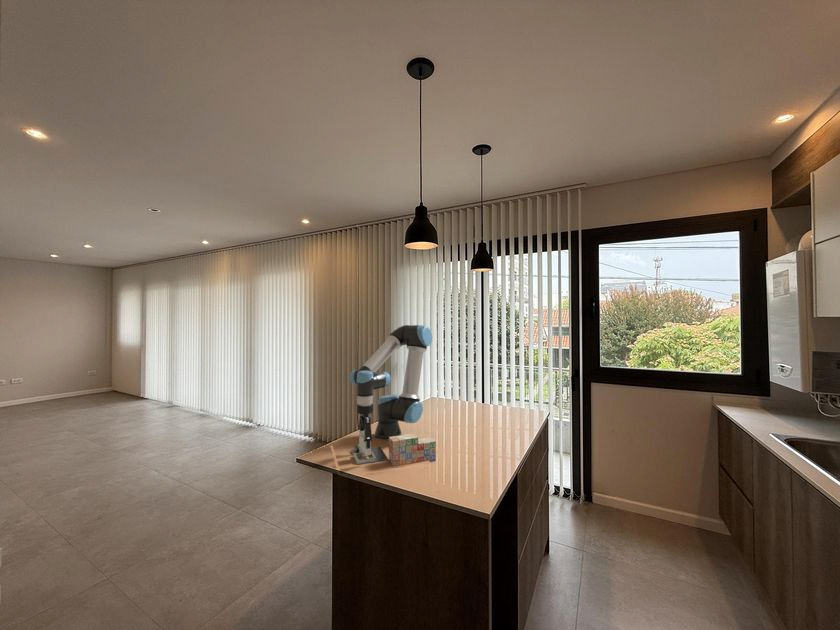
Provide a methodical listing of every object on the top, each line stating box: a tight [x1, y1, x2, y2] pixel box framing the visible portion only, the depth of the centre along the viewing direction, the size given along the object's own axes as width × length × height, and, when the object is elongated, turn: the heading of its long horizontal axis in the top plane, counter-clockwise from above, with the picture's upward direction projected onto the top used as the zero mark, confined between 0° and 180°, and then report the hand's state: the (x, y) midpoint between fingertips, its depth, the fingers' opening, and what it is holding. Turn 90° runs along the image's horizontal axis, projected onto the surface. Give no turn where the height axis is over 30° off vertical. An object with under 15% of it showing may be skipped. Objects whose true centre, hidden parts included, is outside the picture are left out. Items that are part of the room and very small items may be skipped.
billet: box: [358, 435, 370, 460], centre depth 159 cm, size 5×5×10 cm
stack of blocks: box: [388, 433, 437, 469], centre depth 158 cm, size 21×6×12 cm, turn 113°
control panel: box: [350, 444, 390, 466], centre depth 163 cm, size 15×19×4 cm
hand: (365, 449), depth 159 cm, fingers open, 13 cm apart
